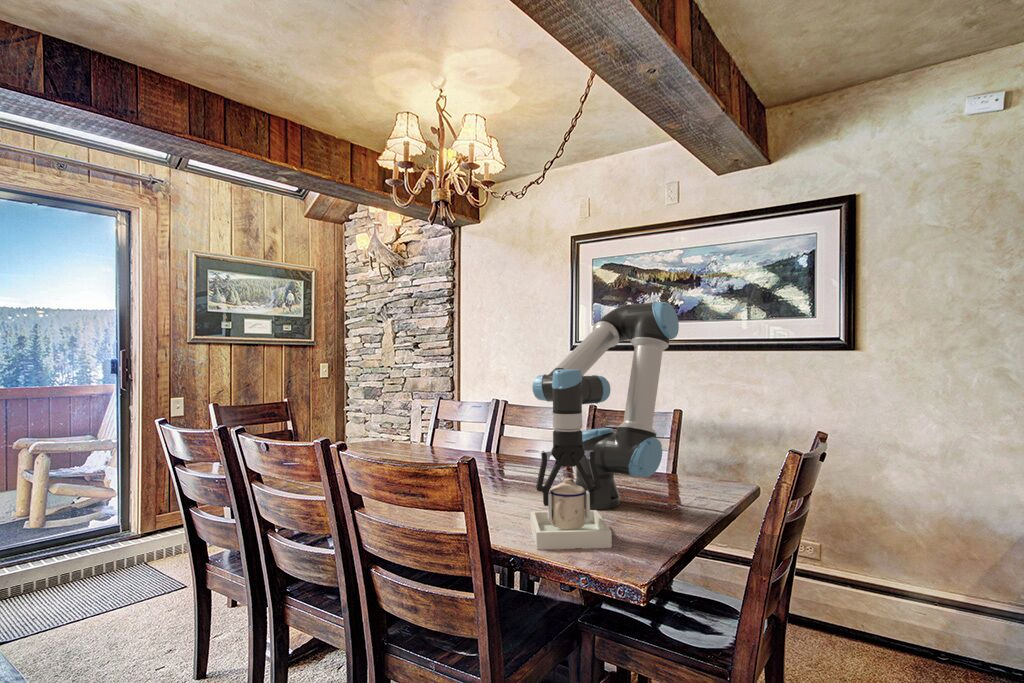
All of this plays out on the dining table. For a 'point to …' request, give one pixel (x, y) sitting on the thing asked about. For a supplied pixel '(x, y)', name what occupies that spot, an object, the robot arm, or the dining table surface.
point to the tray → (570, 533)
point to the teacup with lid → (568, 505)
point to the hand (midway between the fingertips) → (568, 518)
